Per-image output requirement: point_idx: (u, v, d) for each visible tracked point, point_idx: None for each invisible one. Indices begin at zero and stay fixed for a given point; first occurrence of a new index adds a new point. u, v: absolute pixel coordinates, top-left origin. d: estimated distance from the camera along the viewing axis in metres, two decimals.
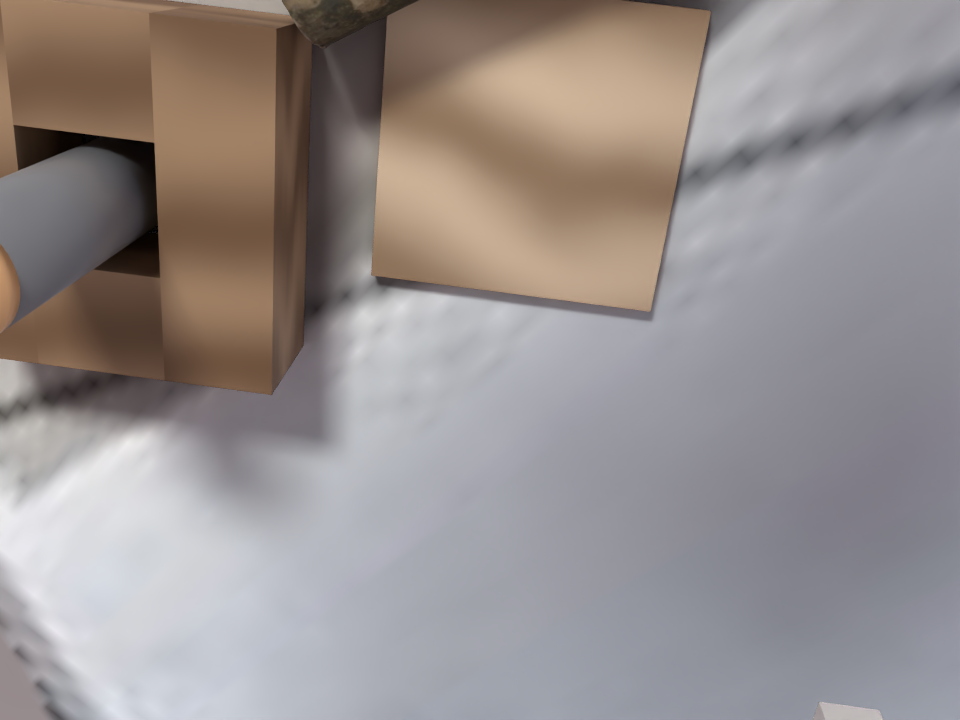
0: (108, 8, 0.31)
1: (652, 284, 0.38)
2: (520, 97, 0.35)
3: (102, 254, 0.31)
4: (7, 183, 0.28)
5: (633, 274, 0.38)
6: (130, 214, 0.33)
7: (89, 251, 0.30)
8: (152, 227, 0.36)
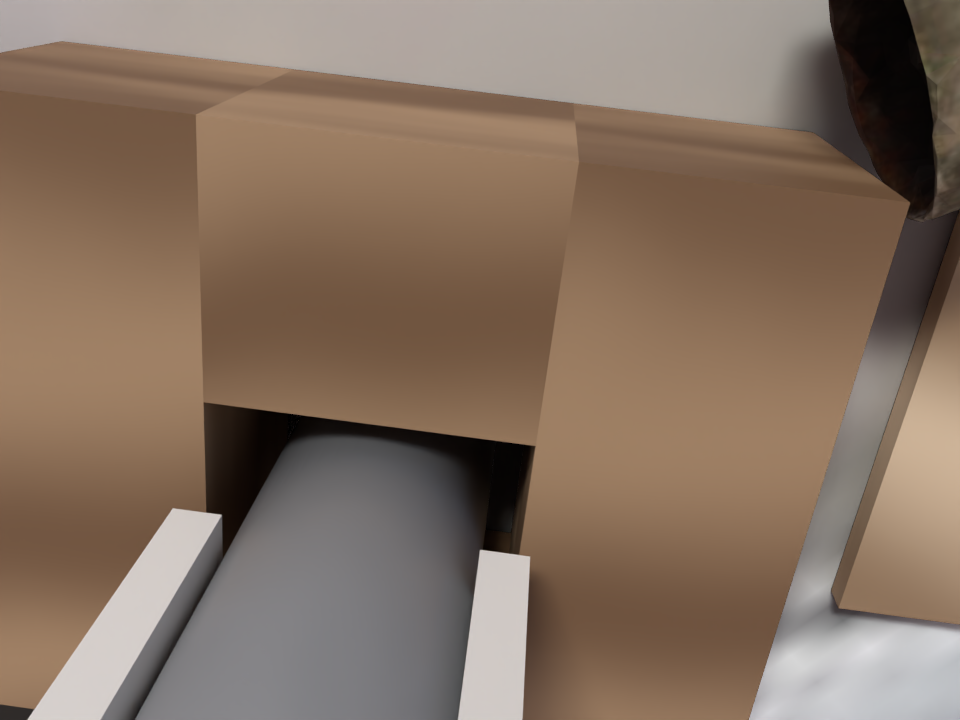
0: (472, 149, 0.12)
1: None
2: None
3: None
4: (275, 705, 0.10)
5: None
6: None
7: None
8: None
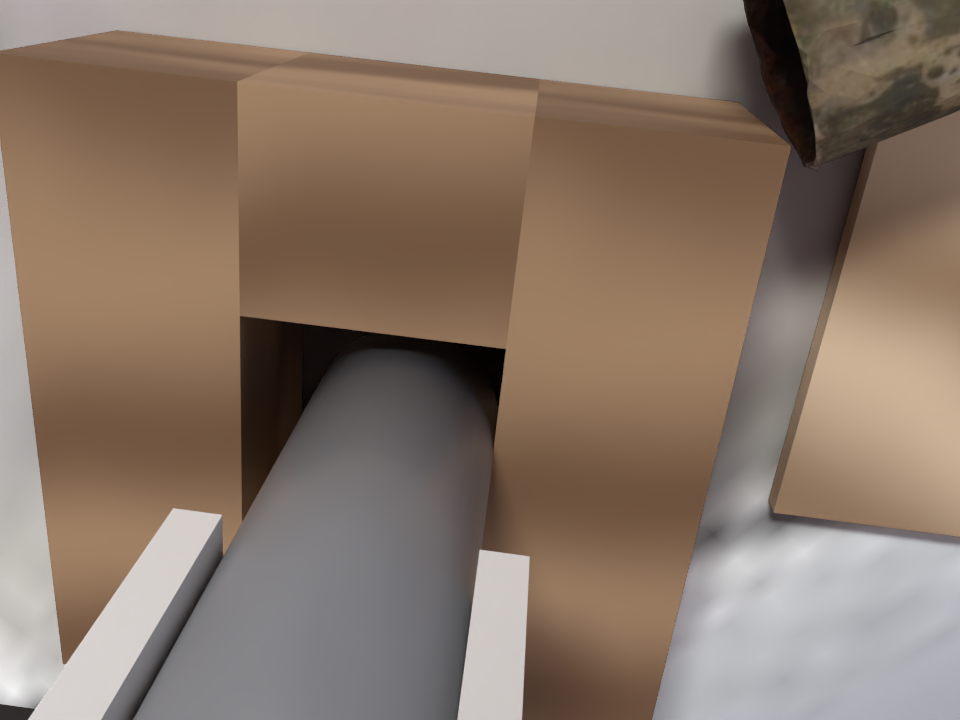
0: (452, 107, 0.16)
1: None
2: None
3: None
4: (281, 680, 0.10)
5: None
6: None
7: None
8: None
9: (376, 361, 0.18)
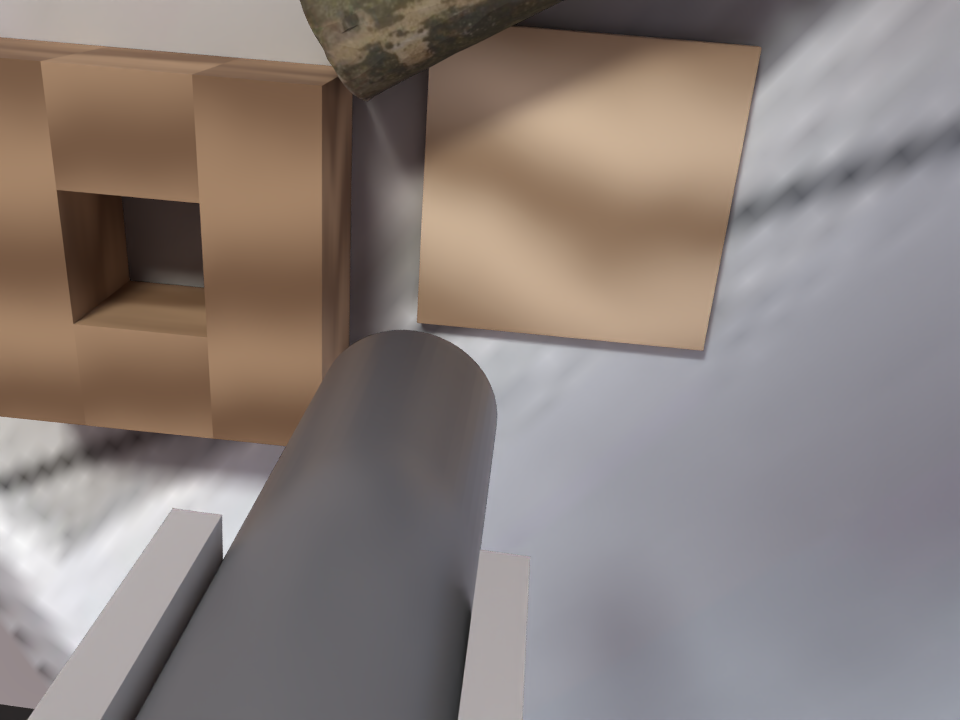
0: (150, 71, 0.30)
1: (704, 323, 0.37)
2: (566, 141, 0.34)
3: None
4: (288, 672, 0.10)
5: (685, 313, 0.37)
6: None
7: None
8: None
9: (378, 362, 0.18)
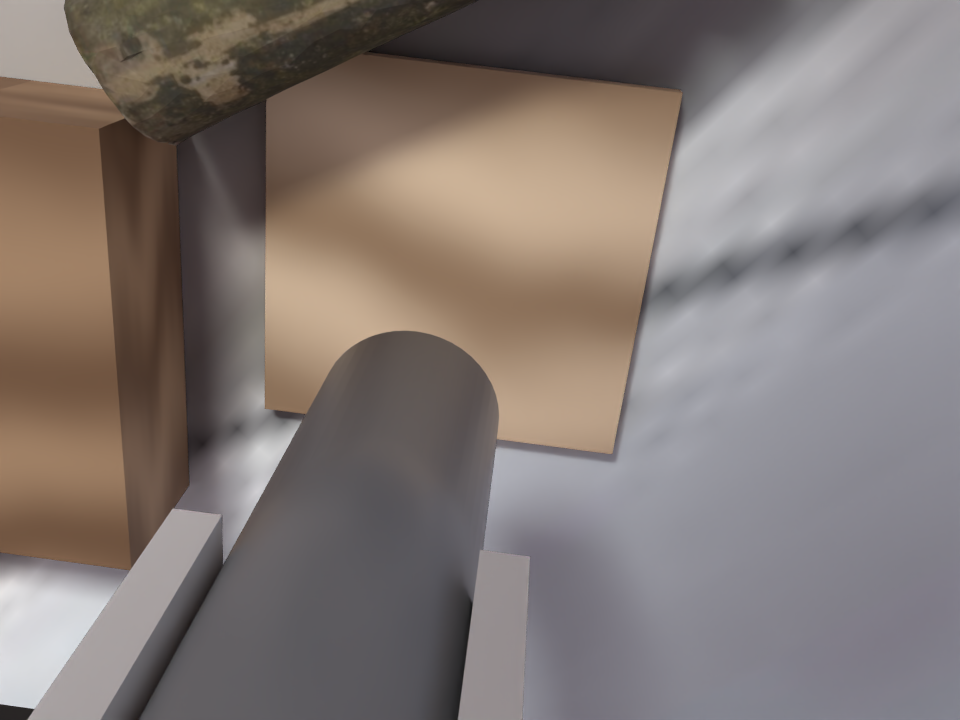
0: None
1: (614, 422, 0.30)
2: (440, 199, 0.28)
3: None
4: (292, 673, 0.10)
5: (589, 410, 0.30)
6: None
7: None
8: None
9: (380, 362, 0.18)
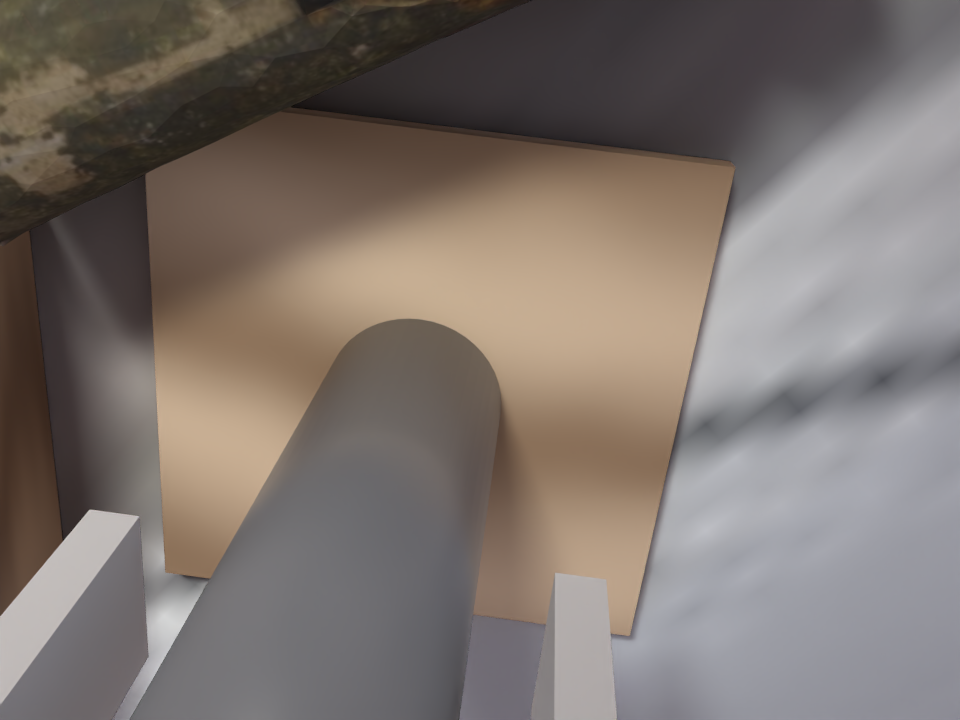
0: None
1: (632, 597, 0.22)
2: (392, 308, 0.20)
3: None
4: (300, 633, 0.11)
5: None
6: (478, 570, 0.15)
7: None
8: None
9: (385, 348, 0.18)
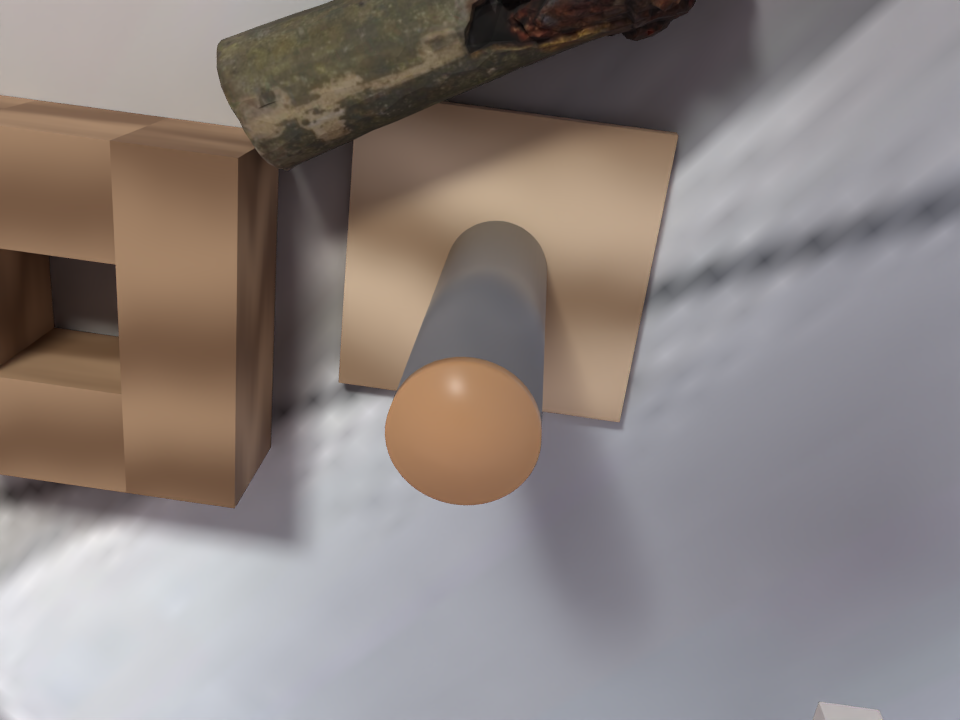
0: (69, 135, 0.31)
1: (621, 396, 0.38)
2: (487, 214, 0.35)
3: None
4: (485, 312, 0.26)
5: (602, 386, 0.37)
6: None
7: None
8: None
9: (487, 232, 0.34)
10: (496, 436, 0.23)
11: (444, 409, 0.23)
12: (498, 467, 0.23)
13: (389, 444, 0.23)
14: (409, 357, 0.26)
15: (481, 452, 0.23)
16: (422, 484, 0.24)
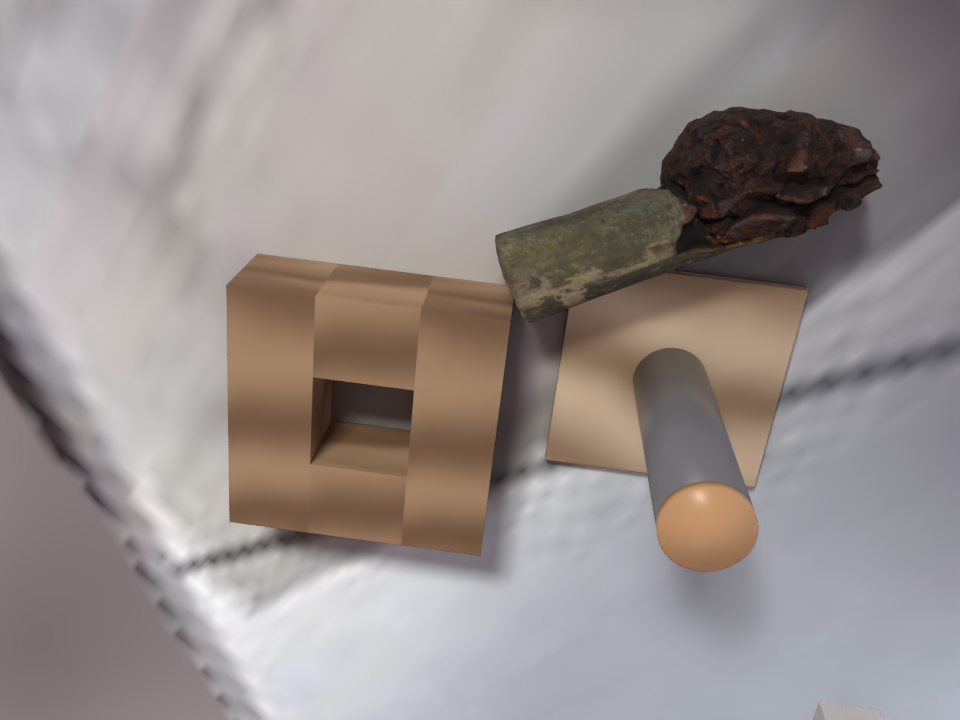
0: (391, 306, 0.44)
1: (756, 468, 0.51)
2: (665, 343, 0.48)
3: None
4: (705, 441, 0.39)
5: (742, 461, 0.51)
6: None
7: None
8: None
9: (671, 360, 0.47)
10: (728, 530, 0.36)
11: (698, 514, 0.36)
12: (729, 548, 0.37)
13: (659, 534, 0.37)
14: (656, 471, 0.39)
15: (718, 539, 0.37)
16: (677, 558, 0.37)
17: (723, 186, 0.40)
